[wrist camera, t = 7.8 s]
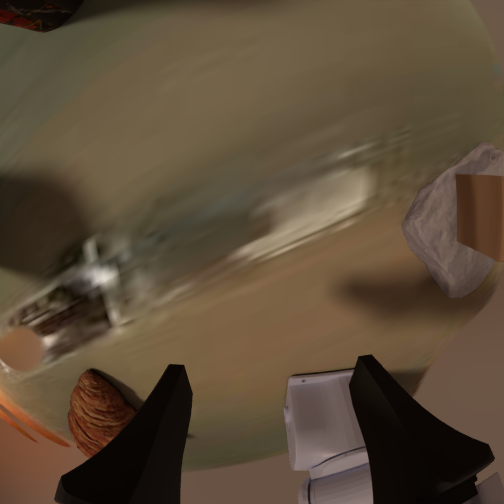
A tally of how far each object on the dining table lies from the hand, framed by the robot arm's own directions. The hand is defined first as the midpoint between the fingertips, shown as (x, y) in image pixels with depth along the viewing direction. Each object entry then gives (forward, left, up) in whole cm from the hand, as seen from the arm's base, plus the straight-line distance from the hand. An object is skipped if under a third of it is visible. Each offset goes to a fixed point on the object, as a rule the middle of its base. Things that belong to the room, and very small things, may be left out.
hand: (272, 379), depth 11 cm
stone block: (+16, +4, -10) cm, 20 cm away
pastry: (-20, -23, -10) cm, 32 cm away
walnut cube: (+15, +6, -6) cm, 17 cm away
